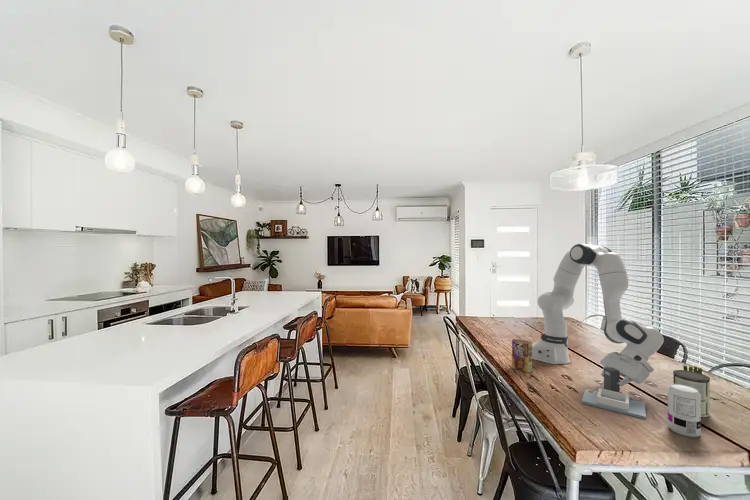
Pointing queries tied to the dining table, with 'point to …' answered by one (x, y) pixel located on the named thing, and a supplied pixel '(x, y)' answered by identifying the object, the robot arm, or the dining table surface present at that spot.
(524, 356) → the candy box
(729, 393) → the dining table surface
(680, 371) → the coffee can
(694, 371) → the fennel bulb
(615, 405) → the socket base
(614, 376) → the plug
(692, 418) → the supplement can
